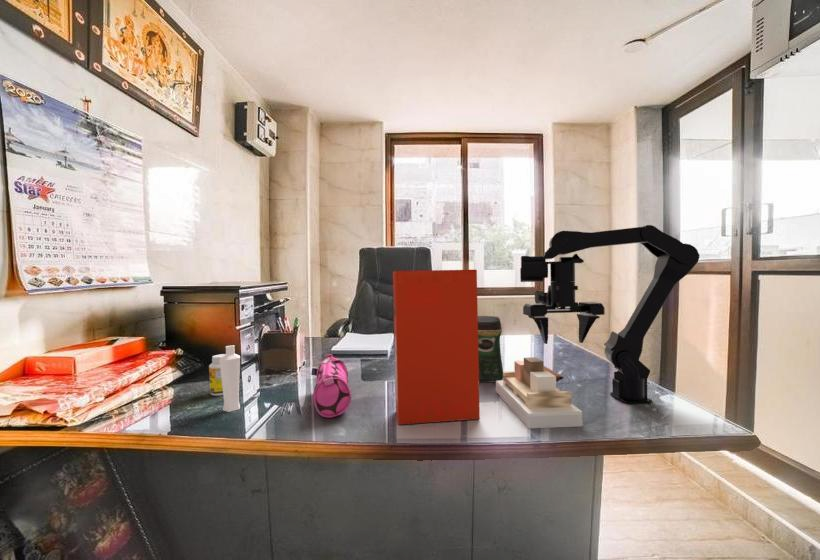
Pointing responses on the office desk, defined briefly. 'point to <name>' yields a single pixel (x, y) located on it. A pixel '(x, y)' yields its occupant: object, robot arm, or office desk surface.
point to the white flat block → (539, 411)
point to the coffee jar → (489, 349)
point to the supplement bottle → (215, 376)
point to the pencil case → (331, 387)
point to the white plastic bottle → (230, 379)
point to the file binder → (436, 345)
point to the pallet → (535, 398)
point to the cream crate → (542, 382)
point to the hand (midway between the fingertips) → (563, 343)
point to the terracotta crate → (519, 370)
